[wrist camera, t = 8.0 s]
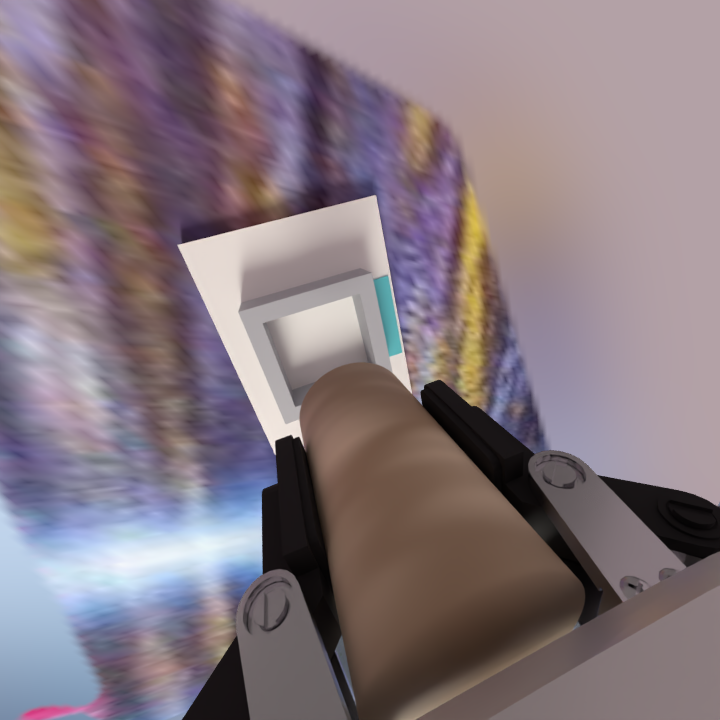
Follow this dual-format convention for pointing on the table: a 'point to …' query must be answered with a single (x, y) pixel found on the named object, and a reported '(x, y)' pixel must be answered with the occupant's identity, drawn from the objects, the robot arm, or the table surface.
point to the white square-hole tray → (300, 304)
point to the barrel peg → (422, 550)
